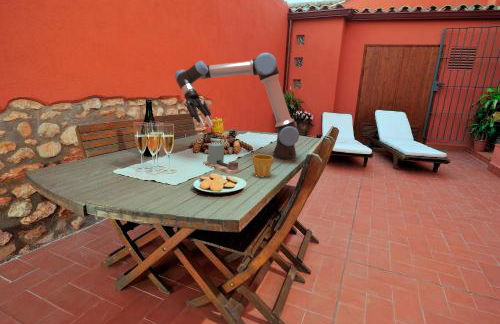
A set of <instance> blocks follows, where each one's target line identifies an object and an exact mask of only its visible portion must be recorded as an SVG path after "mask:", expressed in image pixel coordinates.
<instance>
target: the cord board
mask: <svg viewBox="0 0 500 324" xmlns="http://www.w3.org/2000/svg"><path fill="white" fill-rule="evenodd" d="M202 164H203V165H204V164H205V166H207V165H208V166H207V167H209V166H211V167H210V168H212V167H214V168H213V169H215V168H216V169H215V170H218V171H220V172H222V173H226V174H229V175H233V174H237V173H240V172H242V168H240V167H239V162H238V161H236V160H233V161H229V162H228V163H227V162H220V161H217V164H212V163H209V162H208V155H207V156H206V161H205V160H204V161H203V163H202Z"/></svg>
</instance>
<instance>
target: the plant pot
mask: <svg viewBox="0 0 500 324" xmlns="http://www.w3.org/2000/svg"><path fill="white" fill-rule="evenodd" d="M252 164H253V167H254V168H253V169H254V175H255V176H256V175H257V176H256V177H258V176H268V175H270V172H271V169H272V166H273V164H274V156H273V155H270V154H263V153H262V154H261V153H260V154H253V156H252ZM268 177H269V176H268Z"/></svg>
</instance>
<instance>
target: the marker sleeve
mask: <svg viewBox="0 0 500 324" xmlns="http://www.w3.org/2000/svg"><path fill="white" fill-rule="evenodd" d="M207 153H208V155H207V156H208V162H209V163H212V164H217V161H220V162H223V163H225V162H224V161H225V160H224V159H225V158H224V157H225V144H221V143H217V142H216V143H211V144H208V152H207Z"/></svg>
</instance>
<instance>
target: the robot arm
mask: <svg viewBox="0 0 500 324" xmlns="http://www.w3.org/2000/svg"><path fill="white" fill-rule="evenodd" d="M277 64H278V63H277V59H276V57H275V56H274V55H273V54H272V53H270V52H262V53H260V54H259V55H258V56H257V57H256V58H251V59H250V60H246V61H236V62H228V63H218V64H217V63H216V64H210V65H209V64H208V65H206V63H205V62H204V61H203V60H199V61H197V62H195V64H193V65H192V66H190V68H188V69H187V70H185V69H180V70H177V71H176V72H175V73H174V79H175V81H176V84H177V85H178V86H179V89H180V91H181V93H182V95H183V97H184V99H185V102H184V104H183V105H184V106H185V107H186V109H187V112H188V113H189V115H190V117H191V118H192V119H193V120H196V122H197V123H198V124H199V126H200V128H201V129H203V128H204V127H205V126H206V125H205V123H204V121H203V119H202V118H201V117H202V116H201V115H199V113H198V110H199V111H200V113H202V115H203V116H204V117H205V118H204V119H205V122H206V123H207V125H208V127H209V129H211V128H212V127H213V126H214V123H213V122H212V118H211V116H212V113H211V111H210V109H209V107H208V106H207V101H205V100H203V101H202V100H201V99H200V96H199V93H198V92H197V90H196V88H195V86H194V84H193V83H195V82H196V81H197V80H199V79H201V80H206V79H213V78H223V77H233V76H234V77H236V76H243V75H252V76H258V79H259V81H260V82H261V83H263V86H264V88H265V91H266V93H267V97H268V101H269V103H270V107H271V108H272V109H271V110H272V113H273V117H274V118H275V121H276V122H275V126H274V127H275V129H276V132H277V133H276V135H277V136H276V137H277V138H276V144H275V146H274V149H273V151H272V157H274V156H275V158H277V157H279V158H278V159H282V158H294V159H296V158H297V150H296V146H295V144H297V143H298V142H299V139H300V131H299V129H298V128H297V127H298V126H297V125H298V124H297V121H295V119H294V118H292V117H291V114H290V111H289V108H288V105H287V102H286V98H285V96H284V92H283V90H282V87H281V83H280V81H279V76H280V70H279V67H278V65H277ZM295 157H296V158H295Z"/></svg>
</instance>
